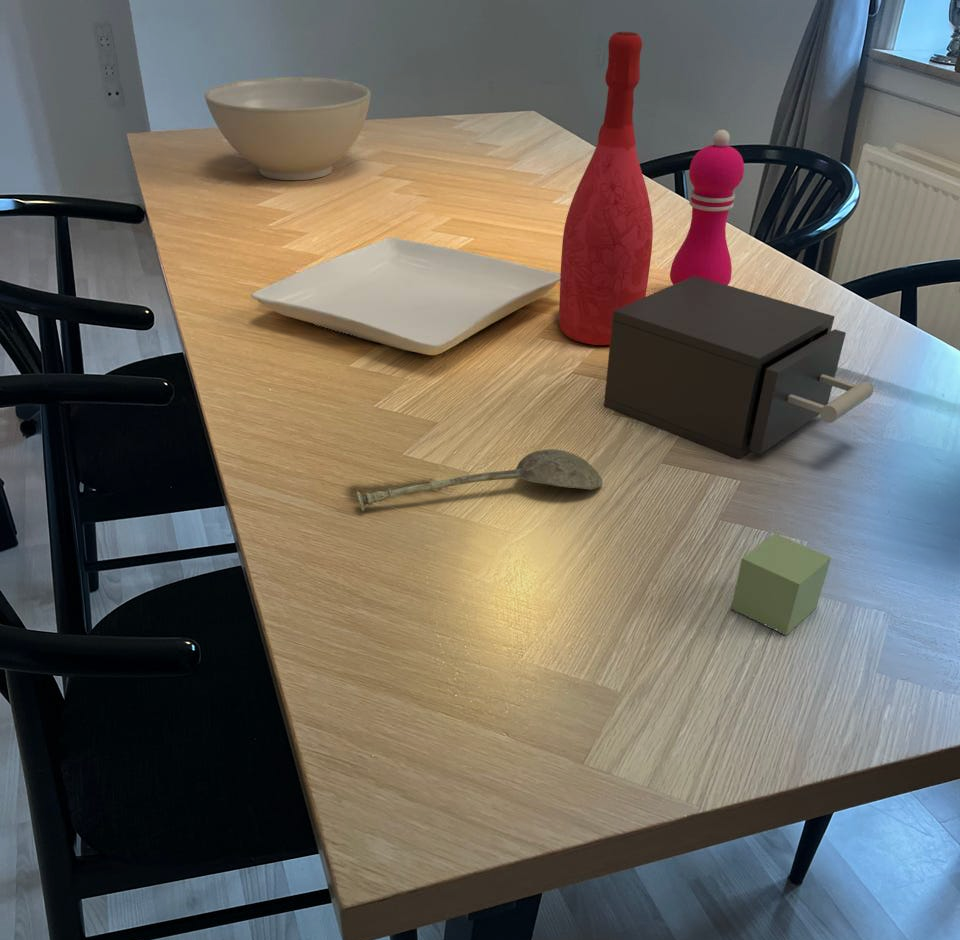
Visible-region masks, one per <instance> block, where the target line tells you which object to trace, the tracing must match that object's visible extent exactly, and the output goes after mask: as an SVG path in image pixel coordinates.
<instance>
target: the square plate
mask: <svg viewBox="0 0 960 940" xmlns="http://www.w3.org/2000/svg"><path fill="white" fill-rule="evenodd" d="M560 275H561V273H559V272H554V271H550V270H545V269H541V268H537V267H533V266H529V265H525V264H521V263H517V262H514V261H509V260H507V259H506V260H505V259H501V258H496V257H492V256H487V255H485V254H479V253H476V252H470V251H465V250H460V249H456V248H451V247H448V246H447V247H446V246H441V245H436V244H431V243H426V242H420V241H416V240H415V241H414V240H410V239H405V238H404V239H403V238H397V237H387V238H384V239H381V240H379V241H376V242H373V243H370V244H368V245H365V246H362V247H359V248H357V249H354V250H351V251H348V252H346V253H343V254H340V255H337V256H335V257H332V258H329V259H326V260H325V261H322V262H319V263H317V264H314V265H312V266H309V267H306V268H305V269H302V270H300V271H298V272H296V273H295V272H294V274H291V275H289V276H286V277H284V278H282V279H280V280H277V281H275V282H272V283H271V284H269V285H267V286H264V287H262V288H259V289H257V290H255V291H253V292H252V293H251V294H250V297H251V298H252V299H254V300H256V301H257V302H258V303H260V304H261V305H263V306H264V307H265V308H267V309H269V310H270V311H273V312H275V313H277V314H280V315H283V316H286V317H289V318H291V319H292V318H293V319H296V320H298V321H302V322H307V323H309V324H311V323H313V324H315V325H314V326H316V325H318V326H317V327H319V326H322V327H325V328H324V329H326V328H329V329H332V330H331V331H333V330H336V331H335V332H337V331H339V332H338V333H340V332H343V333H342V334H344V333H346V334H345V335H348V334H350V335H349V336H352V335H353V336H352V337H355V336H356V337H355V338H359V339H363V340H366V341H370V342H374V343H378V344H381V345H385V346H388V347H390V348H391V347H393V348H395V349H399V350H403V351H407V352H414V353H418V354H421V355H427V356H437V355H440V354H442V353H444V352H446V351H448V350H450V349H452V348H453V347H455V346H456V345H458V344H460V343H462V342H463V341H465V340H467V339H469V338H470V337H472V336H474V335H476V334H477V333H479V332H480V331H482V330H485V329H486V328H487V327H489V326H491V325H493V324H495V323H497V322H499V321H500V320H502V319H504V318H506V317H507V316H509V315H511V314H512V313H514V312H515V311H517V310H519V309H522V308H523V307H526V306H527V305H530V304H531V303H533V302H535V301H537V300H539V299H540V298H542V297H543V296H545V295H546V294H547V293H549V292H551V291H552V289H553V288H555V286H556V285H557V284H558V283H559V282H560ZM313 324H312V325H313ZM322 327H321V328H322ZM329 329H328V330H329Z"/></svg>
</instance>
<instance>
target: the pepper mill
mask: <svg viewBox="0 0 960 940" xmlns="http://www.w3.org/2000/svg"><path fill="white" fill-rule="evenodd" d="M730 138H731V136H730V134H729V132H728V131H727V130H726V129H719V130H717V131H716V132H714V135H713V138H712V142H713V144H710V145H707V146H704V147H702V148H701V149H699V150H698V151H697V152H696V153H695V155H694V156H693V157H692V160H691V162H690V165H689V170H688V176H689V180H690V183H691V185H692V186H693V189H692V190H691V191H690V193H689V194H690V200H689V202H688V203H689V205H690V207H692V208H691V221H690V226H689V229H688V232H687V235H686V236H685V239H684V240H683V242H682V244H681V246H680V247H679V249H678V250H677V252H676V254H675V256H674V258H673V261H672V263H671V267H670V270H669V279H670V281H671V284H672V285H674V284H676V283H679V282H681V281H683V280H685V279H688V278H690V277H692V276H697V277H700V278H704V279H707V280H711V281H714V282H718V283H721V284H724V285H728V286H729V284H730V283H731V280H732V271H733V268H732V259H731V255H730V252H729V246H728V243H727V237H726V234H727V233H726V227H727V219H728V215H729V211H730V210H731V209H733V208H734V206H735V204H734V200H735V198H736V194H735V193H734V190H735V189H736V188H737V187H738V186H739V185H740V184H741V182H742V181H743V178H744V172H745V163H744V159H743V156H742V155H741V153H740V152H739V151H738V150H737V149H736V148H734V147H732V146H730V145H728V144H729V143H730Z"/></svg>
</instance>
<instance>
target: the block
mask: <svg viewBox="0 0 960 940" xmlns="http://www.w3.org/2000/svg"><path fill="white" fill-rule="evenodd" d="M831 559H832V557H831V556H829V555H826V554H824V553H822V552H819V551H817V550H815V549H813V548H810V547H809V546H805V545H803V544H801V543H799V542H796V541H794V540H791V539H789V538H787V537H785V536H782V535H780V534H777V533H773V534H772V535H770V536H769V537H767V538H766V539H765V540H764V541H762V542H761V543H760V544H759V545H757V546H756V547H754V548H753V549H752V550H750V551H749V552H748V553H747V554H745V555H744V556H743V557H742V558H741V560H740V566H739V570H738V575H737V578H736V579H737V580H736V583H735V588H734V593H733V598H732V602H731V608H730V610H732V609H734V610H735V611H734V610H733V611H734V612H736V611H737V612H736V613H738V612H739V613H738V614H740V613H741V614H740V615H742V614H744V615H745V617H746V616H748V617H751V618H752V619H754V620H753V621H755V620H756V621H755V622H757V621H759V622H761V623H763V624H766V625H767V626H770V627H772V628H774V629H777V630H778V631H780V632H782V633H784V634H787V635H788V634H789V633H790V632H791V631H793V630H794V629H795V628H796V627H797V626H798V625H800V624H801V623H802V622H803V621H804V620H805V619H806V618H807V617H808V616H810V614H812V613H813V612H814V611H815V610H816V609H817V608H818V605H819V601H820V597H821V594H822V591H823V587H824V584H825V581H826V577H827V573H828V570H829V566H830V564H831ZM744 615H743V616H744ZM748 617H747V618H748ZM752 619H751V620H752ZM802 620H803V621H802ZM759 622H758V623H759ZM761 623H760V624H761ZM763 624H762V625H763ZM767 626H766V627H767ZM794 627H795V628H794ZM793 628H794V629H793ZM792 629H793V630H792Z"/></svg>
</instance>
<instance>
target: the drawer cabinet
mask: <svg viewBox="0 0 960 940" xmlns="http://www.w3.org/2000/svg"><path fill="white" fill-rule="evenodd" d="M834 321H835V315H832V314H830V313H829V314H828V313H825V312H821V311H818V310H816V309H815V310H814V309H811V308H807V307H804V306H800V305H798V304H793V303H790V302H786V301H783V300H780V299H777V298H772V297H769V296H766V295H763V294H760V293H756V292H752V291H749V290H745V289H741V288H738V287H735V286H732V285H729V284H728V285H724V284H721V283H718V282H714V281H711V280H707V279H704V278H700V277H697V276H692V277H690V278H688V279H685V280H683V281H681V282H679V283H676V284H674V285H673V284H672V285H670V286H667V287H665V288H663V289H660V290H657V291H655V292H653V293H651V294H649V295H646V297H644V298H642V299H639V300H637V301H635V302H632V303H630V304H628V305H626V306H623V307H621V308H619V309H616V310H614V311H613V320H612V328H611V339H610V345H609V349H608V360H607V370H606V379H605V390H604V400H603V406H604V407H605V408H608V409H611V410H613V411H615V412H619V413H621V414H622V415H626V416H629V417H631V418H633V419H635V420H636V419H637V420H639V421H641V422H644V423H646V424H649V425H652V426H654V427H656V428H659V429H662V430H664V431H667V432H669V433H672V434H674V435H677V436H679V437H682V438H684V439H687V440H690V441H692V442H695V443H697V444H698V445H699V444H700V445H702V446H704V447H707V448H709V449H712V450H715V451H716V452H717V451H718V452H720V453H722V454H725V455H728V456H730V457H733V458H735V459H738V460H739V459H741V458H742V457H744V456H746V455H747V454H749V453H750V452H752V451H751V450H749V448H750V443H751V438H752V433H753V431H751V432H750V433H748V432H749V427H750V422H751V417H752V412H753V408H754V403H755V398H756V393H757V388H758V383H759V378H760V373H761V368H762V365H763V364H765V363H767V362H768V361H770V360H772V359H774V358H775V357H777V356H779V355H781V354H782V353H784V352H786V351H788V350H789V349H791V348H793V347H795V346H796V345H798V344H800V343H802V342H804V341H805V340H807V339H809V338H811V337H812V336H814V335H815V336H814V341H815V340H817V339H818V338H820V337H822V336H824V335H825V334H827V333H829V332H831V331H832V330H833V324H834Z"/></svg>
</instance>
